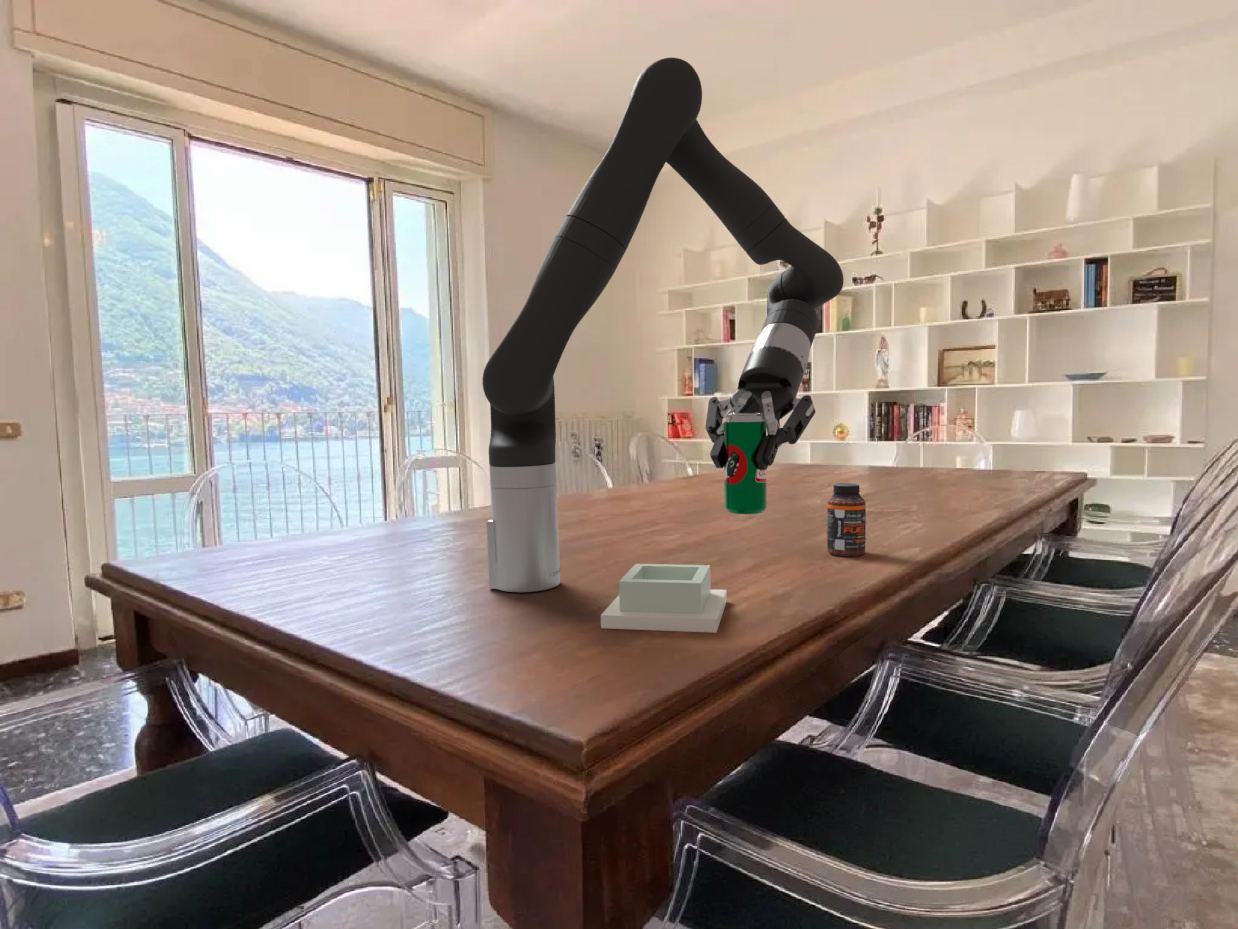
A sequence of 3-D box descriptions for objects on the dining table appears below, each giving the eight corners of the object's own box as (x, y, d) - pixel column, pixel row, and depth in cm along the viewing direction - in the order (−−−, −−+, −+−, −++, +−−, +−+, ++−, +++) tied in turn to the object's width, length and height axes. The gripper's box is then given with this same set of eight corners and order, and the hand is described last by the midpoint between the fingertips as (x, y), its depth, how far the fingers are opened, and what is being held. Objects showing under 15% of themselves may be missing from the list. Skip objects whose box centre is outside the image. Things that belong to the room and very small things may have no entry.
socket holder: (601, 628, 85) (599, 584, 85) (626, 598, 98) (624, 560, 97) (716, 632, 82) (715, 587, 82) (726, 601, 95) (726, 562, 94)
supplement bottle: (845, 559, 117) (845, 487, 116) (819, 553, 123) (818, 484, 122) (873, 554, 120) (873, 484, 119) (846, 548, 125) (846, 481, 125)
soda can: (766, 515, 89) (766, 413, 88) (723, 514, 90) (722, 413, 88) (766, 509, 93) (766, 412, 92) (725, 508, 94) (724, 413, 93)
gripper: (717, 347, 100) (674, 442, 91) (823, 341, 92) (788, 444, 83) (733, 387, 105) (695, 482, 96) (836, 384, 97) (804, 487, 88)
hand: (738, 464), depth 89 cm, fingers closed on soda can, 5 cm apart
